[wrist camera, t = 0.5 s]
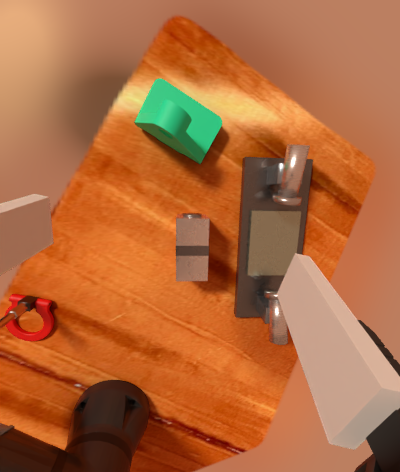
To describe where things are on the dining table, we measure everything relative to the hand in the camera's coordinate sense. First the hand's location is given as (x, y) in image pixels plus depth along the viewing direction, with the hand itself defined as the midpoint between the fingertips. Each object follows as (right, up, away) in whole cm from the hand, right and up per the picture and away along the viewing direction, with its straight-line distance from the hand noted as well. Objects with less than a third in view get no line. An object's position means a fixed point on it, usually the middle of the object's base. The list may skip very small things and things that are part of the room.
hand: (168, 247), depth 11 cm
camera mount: (-2, +19, +25) cm, 32 cm away
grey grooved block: (0, 0, +29) cm, 28 cm away
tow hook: (-30, -15, +29) cm, 45 cm away
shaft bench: (+15, 0, +30) cm, 33 cm away
